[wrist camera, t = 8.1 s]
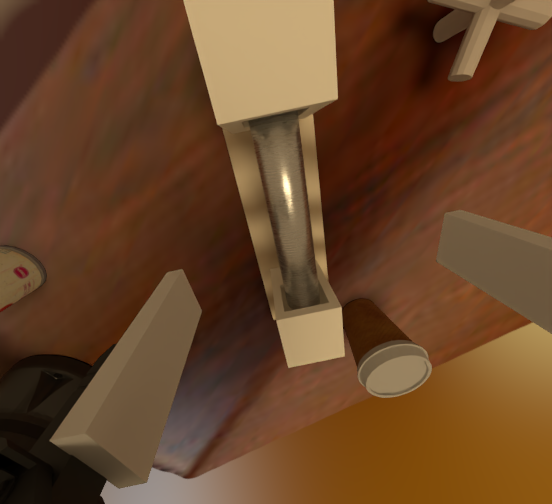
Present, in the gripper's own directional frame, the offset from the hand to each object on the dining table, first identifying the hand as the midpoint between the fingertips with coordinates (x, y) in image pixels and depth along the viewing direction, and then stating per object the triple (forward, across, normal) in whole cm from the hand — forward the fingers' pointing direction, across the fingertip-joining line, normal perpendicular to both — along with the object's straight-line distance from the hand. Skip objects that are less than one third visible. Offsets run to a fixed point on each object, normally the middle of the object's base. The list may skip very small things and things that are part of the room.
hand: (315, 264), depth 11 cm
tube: (+13, 0, 0) cm, 13 cm away
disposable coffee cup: (+18, +10, -24) cm, 32 cm away
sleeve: (+18, 0, -14) cm, 23 cm away
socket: (+18, 0, +11) cm, 21 cm away
